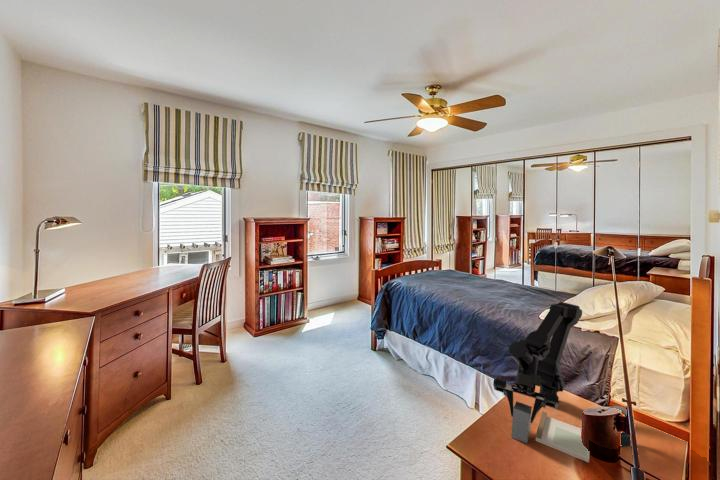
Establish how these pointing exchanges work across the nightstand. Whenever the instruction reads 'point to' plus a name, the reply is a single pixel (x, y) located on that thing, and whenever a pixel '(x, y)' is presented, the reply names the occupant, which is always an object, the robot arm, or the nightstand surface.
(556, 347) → the robot arm
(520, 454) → the nightstand surface
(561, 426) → the door panel
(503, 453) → the nightstand surface
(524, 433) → the block
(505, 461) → the nightstand surface
